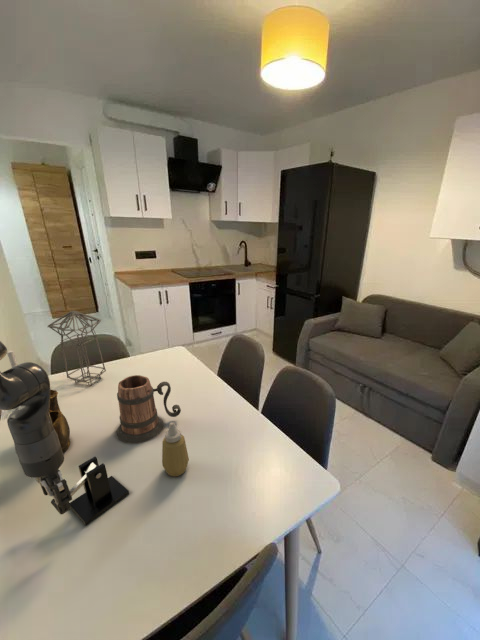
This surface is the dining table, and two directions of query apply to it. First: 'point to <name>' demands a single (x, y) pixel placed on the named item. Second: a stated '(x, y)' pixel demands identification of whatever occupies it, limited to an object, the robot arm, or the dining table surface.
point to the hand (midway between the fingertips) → (57, 501)
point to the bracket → (97, 492)
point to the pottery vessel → (59, 421)
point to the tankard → (140, 409)
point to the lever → (77, 483)
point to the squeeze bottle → (174, 452)
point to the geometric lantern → (82, 316)
